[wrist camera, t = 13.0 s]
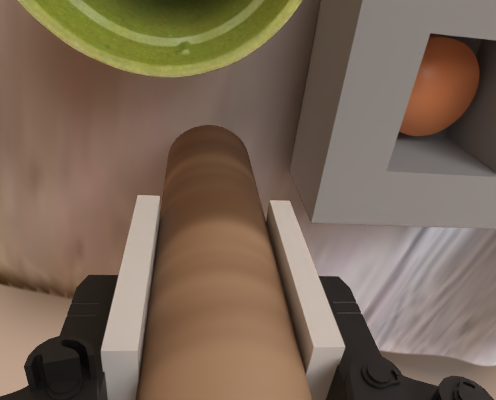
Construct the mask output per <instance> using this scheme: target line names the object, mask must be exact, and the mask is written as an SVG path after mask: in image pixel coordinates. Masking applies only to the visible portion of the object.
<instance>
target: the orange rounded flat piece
mask: <svg viewBox="0 0 496 400" xmlns="http://www.w3.org/2000/svg"><path fill="white" fill-rule="evenodd" d="M479 76H480V74H479V65H478V61H477V58H476V56H475V54H474V53H473V51H472V50H471V49H470V48H469V47H468V46H467V45H466V44H464V43H462V42H461V41H458V40H455V39H452V38H449V37H446V36H443V35H440V34H432V33H430V36H429V39H428V42H427V45H426V49H425V52H424V55H423V58H422V61H421V64H420V67H419V71H418V74H417V77H416V80H415V83H414V86H413V89H412V93H411V96H410V99H409V102H408V105H407V108H406V111H405V115H404V118H403V121H402V124H401V127H400V130H399V131H400V132H402V133H404V134H407V135H411V136H426V135H431V134H434V133H437V132H439V131H441V130H443V129H445V128H447V127H448V126H450V125H451V124H453V123H454V122H455V121H456V120H458V119H459V118H460V117H461V116H462V115H463V113H464V112H465V111H466V110H467V108H468V107H469V106H470V104H471V102H472V100H473V98H474V96H475V94H476V91H477V88H478V84H479Z"/></svg>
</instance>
